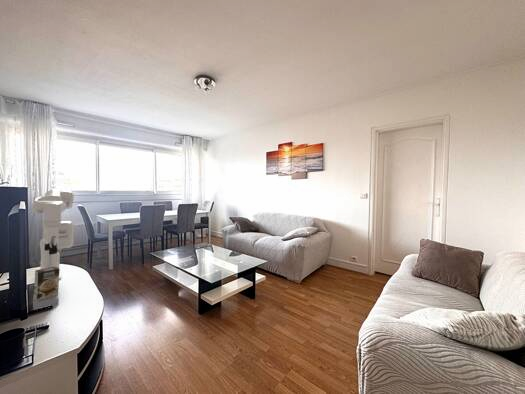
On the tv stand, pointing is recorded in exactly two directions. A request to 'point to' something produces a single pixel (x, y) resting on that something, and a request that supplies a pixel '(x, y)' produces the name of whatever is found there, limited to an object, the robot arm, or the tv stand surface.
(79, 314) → the tv stand surface
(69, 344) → the tv stand surface
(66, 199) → the robot arm
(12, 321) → the tv stand surface
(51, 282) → the coffee box
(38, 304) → the base block
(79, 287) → the tv stand surface
